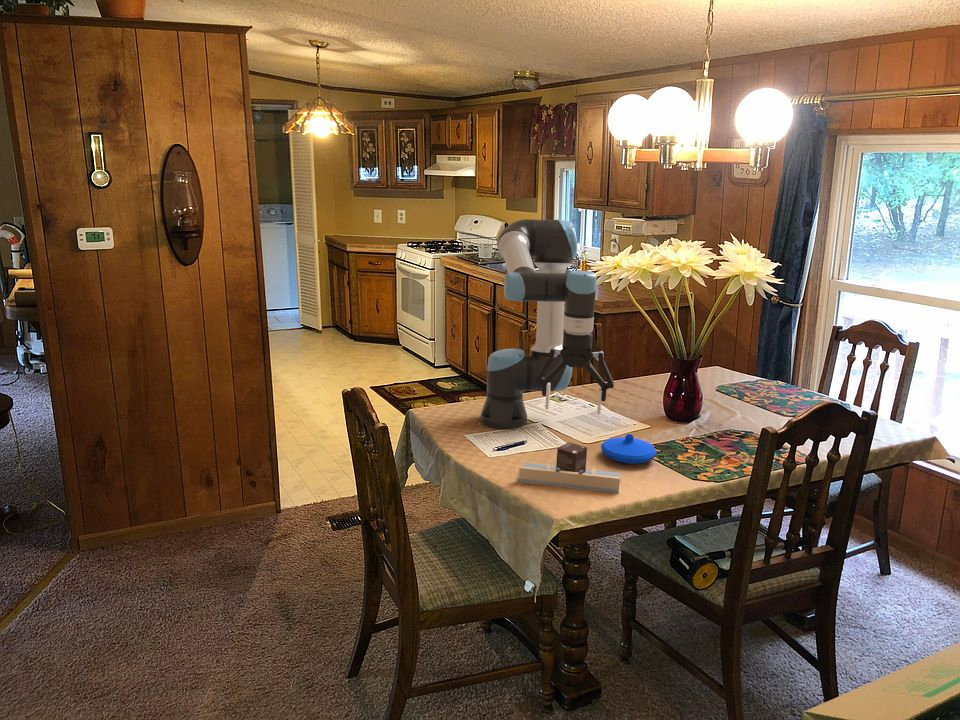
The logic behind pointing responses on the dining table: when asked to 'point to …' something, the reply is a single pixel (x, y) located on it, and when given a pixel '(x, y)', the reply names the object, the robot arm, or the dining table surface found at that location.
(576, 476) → the board
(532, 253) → the robot arm
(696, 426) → the dining table surface
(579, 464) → the box
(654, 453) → the blue knobbed lid
